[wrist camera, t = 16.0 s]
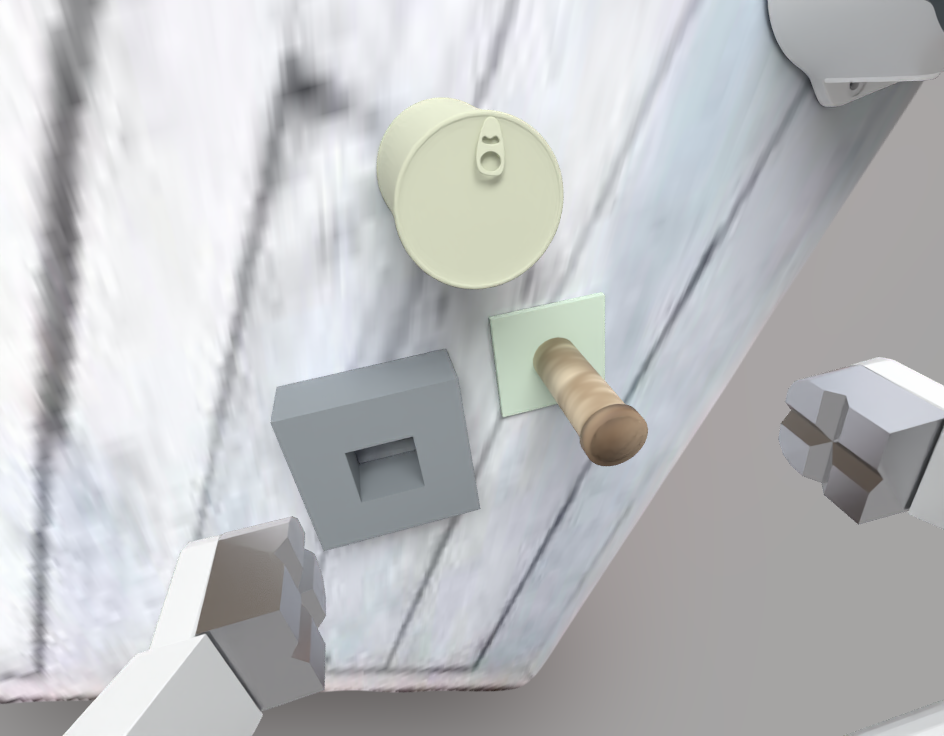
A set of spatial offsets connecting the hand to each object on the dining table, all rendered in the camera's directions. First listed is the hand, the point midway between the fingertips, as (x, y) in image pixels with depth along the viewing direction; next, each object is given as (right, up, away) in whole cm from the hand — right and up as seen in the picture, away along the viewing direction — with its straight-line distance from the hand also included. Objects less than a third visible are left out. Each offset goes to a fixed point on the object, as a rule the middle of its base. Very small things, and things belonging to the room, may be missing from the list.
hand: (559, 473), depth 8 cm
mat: (+5, +3, +38) cm, 39 cm away
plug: (+6, +3, +38) cm, 38 cm away
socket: (-9, -4, +38) cm, 40 cm away
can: (-4, +16, +29) cm, 33 cm away
